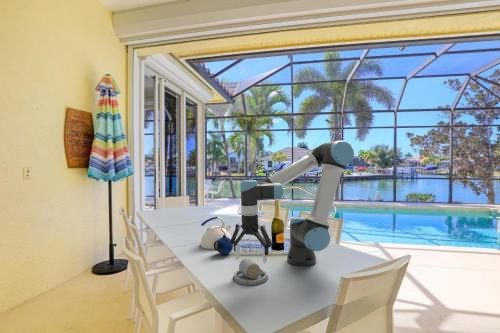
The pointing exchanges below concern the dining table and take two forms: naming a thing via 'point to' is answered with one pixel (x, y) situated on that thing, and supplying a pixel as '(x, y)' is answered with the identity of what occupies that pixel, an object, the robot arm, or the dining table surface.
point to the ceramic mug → (250, 268)
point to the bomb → (223, 245)
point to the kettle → (214, 233)
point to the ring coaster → (244, 280)
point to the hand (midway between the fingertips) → (251, 260)
